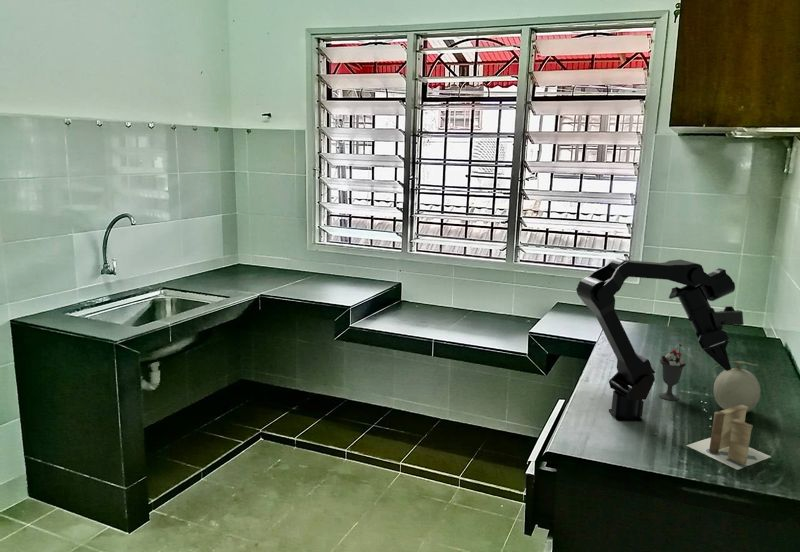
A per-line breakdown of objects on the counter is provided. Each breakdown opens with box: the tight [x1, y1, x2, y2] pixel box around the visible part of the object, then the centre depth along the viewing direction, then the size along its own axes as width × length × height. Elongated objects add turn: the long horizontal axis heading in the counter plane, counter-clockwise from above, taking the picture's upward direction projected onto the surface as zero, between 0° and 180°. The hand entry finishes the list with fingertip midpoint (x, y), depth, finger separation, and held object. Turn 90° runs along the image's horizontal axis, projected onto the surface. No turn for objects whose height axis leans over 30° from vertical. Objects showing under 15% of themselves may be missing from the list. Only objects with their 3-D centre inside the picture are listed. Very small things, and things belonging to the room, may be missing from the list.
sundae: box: [658, 344, 687, 402], centre depth 163 cm, size 7×7×15 cm
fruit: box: [712, 360, 761, 413], centre depth 156 cm, size 10×12×15 cm
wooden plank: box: [709, 411, 754, 465], centre depth 130 cm, size 8×2×9 cm, turn 29°
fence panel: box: [718, 405, 748, 450], centre depth 135 cm, size 9×1×9 cm, turn 119°
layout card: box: [686, 437, 772, 471], centre depth 134 cm, size 12×12×1 cm
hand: (727, 366), depth 146 cm, fingers open, 9 cm apart
